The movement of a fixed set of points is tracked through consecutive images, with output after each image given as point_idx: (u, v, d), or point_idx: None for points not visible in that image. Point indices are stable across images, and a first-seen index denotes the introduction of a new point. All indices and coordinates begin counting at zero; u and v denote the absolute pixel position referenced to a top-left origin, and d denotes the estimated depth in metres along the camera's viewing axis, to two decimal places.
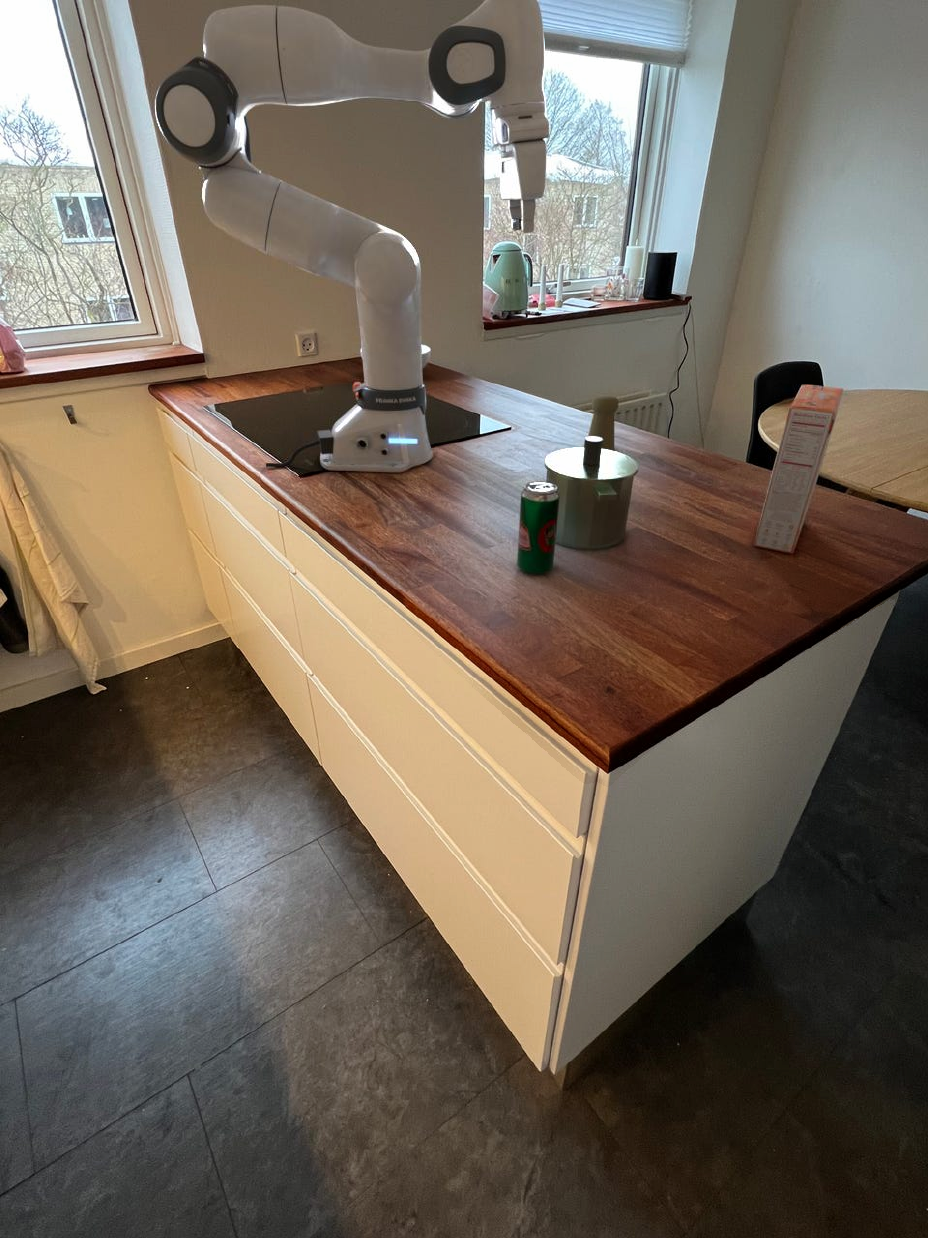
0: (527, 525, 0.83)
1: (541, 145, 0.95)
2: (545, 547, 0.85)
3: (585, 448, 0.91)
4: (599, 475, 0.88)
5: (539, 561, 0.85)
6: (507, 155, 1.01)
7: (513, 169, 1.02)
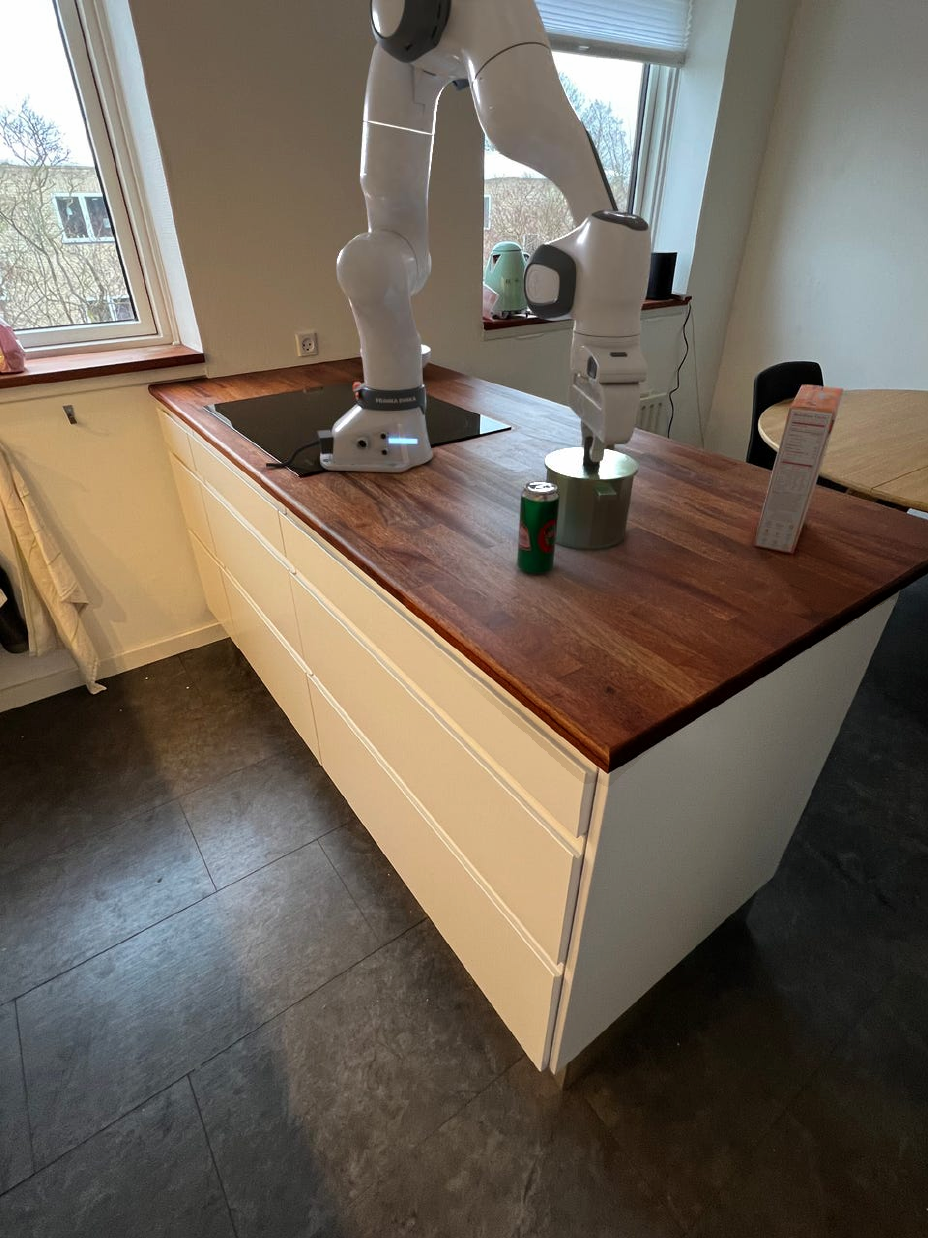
0: (527, 525, 0.83)
1: (635, 391, 0.79)
2: (545, 547, 0.85)
3: (585, 448, 0.91)
4: (599, 475, 0.88)
5: (539, 561, 0.85)
6: (588, 383, 0.84)
7: (593, 398, 0.85)
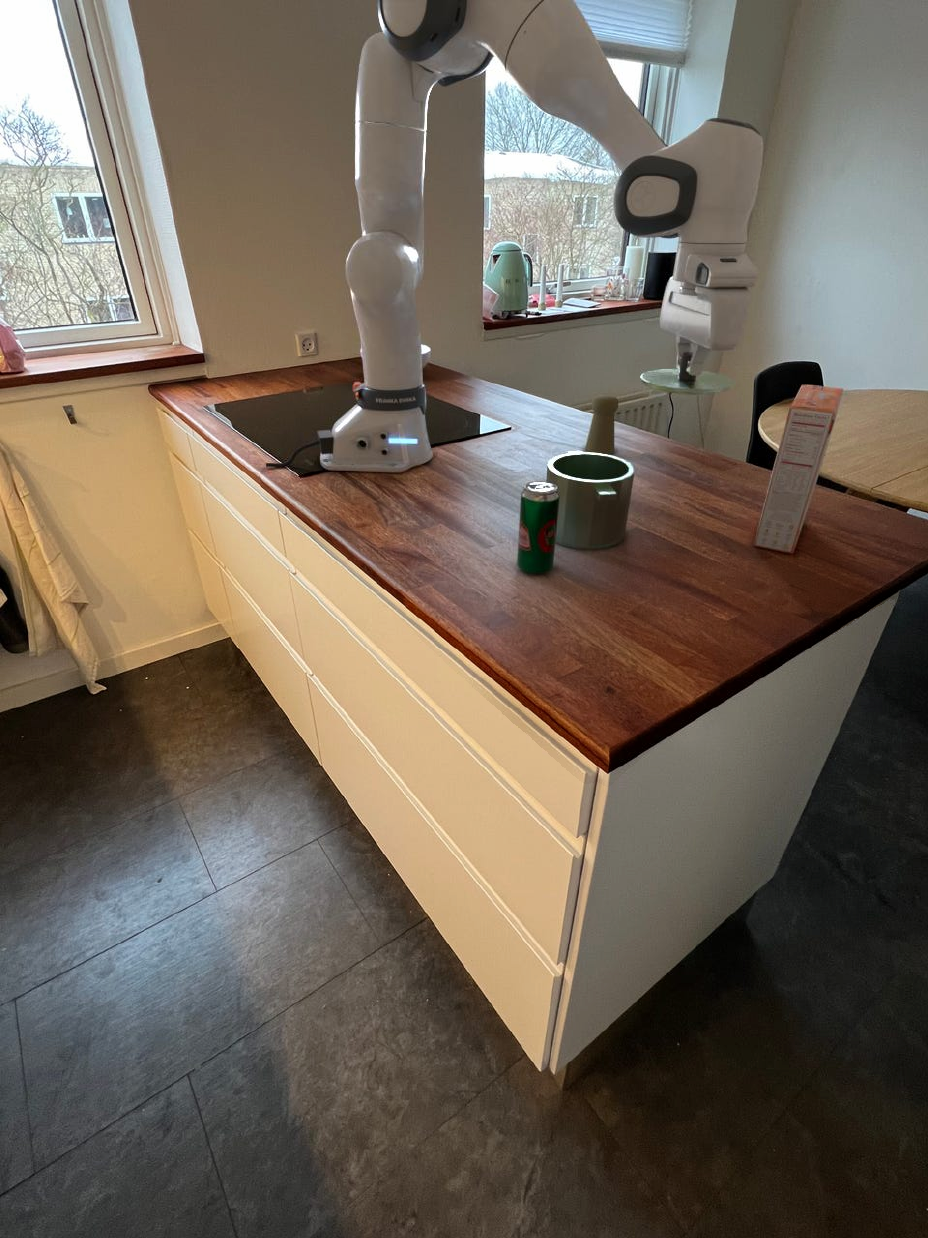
0: (527, 525, 0.83)
1: (745, 295, 0.82)
2: (545, 547, 0.85)
3: (682, 363, 0.94)
4: (699, 386, 0.91)
5: (539, 561, 0.85)
6: (692, 294, 0.87)
7: (696, 309, 0.88)
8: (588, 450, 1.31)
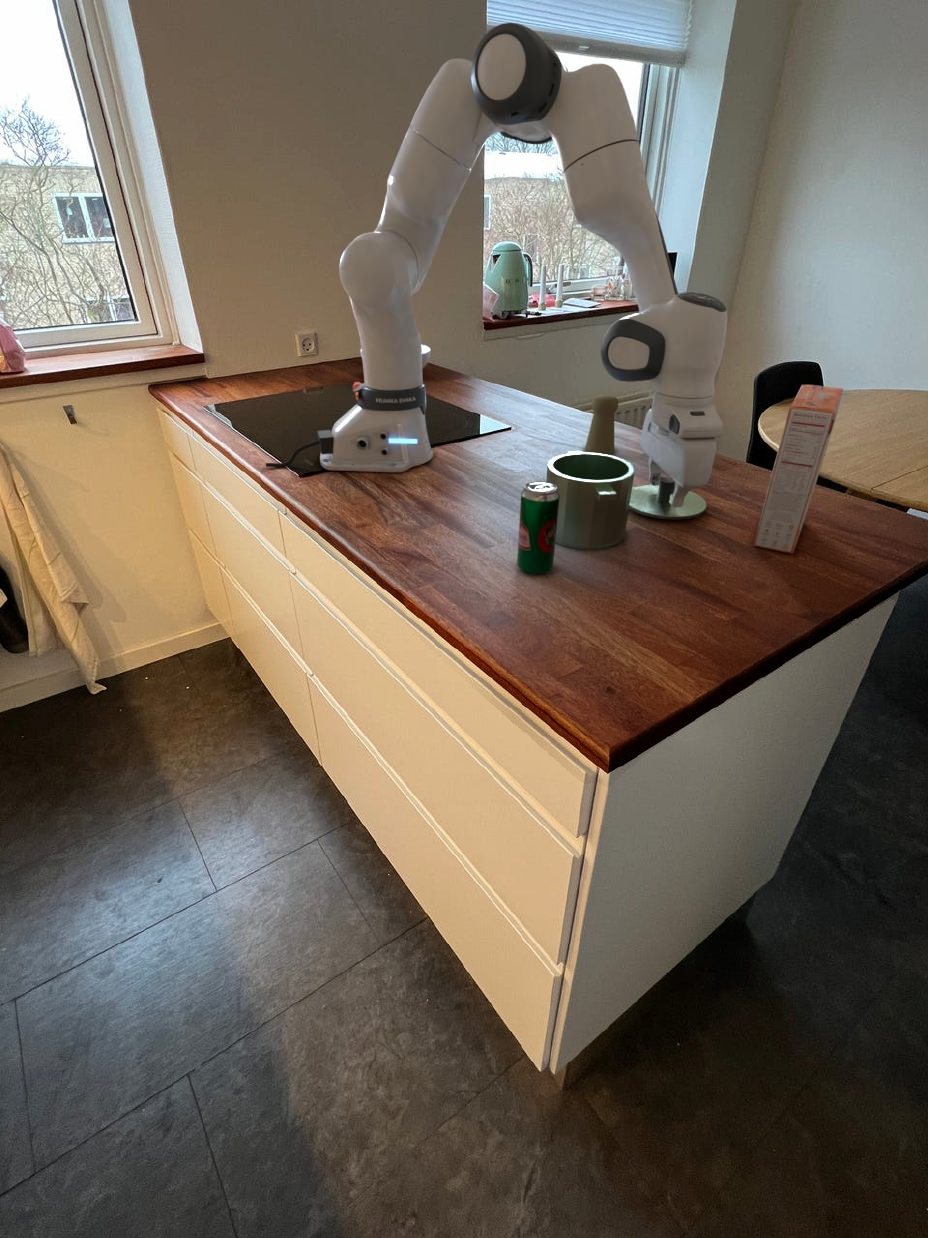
0: (527, 525, 0.83)
1: (712, 445, 0.92)
2: (545, 547, 0.85)
3: (660, 488, 1.05)
4: (674, 512, 1.02)
5: (539, 561, 0.85)
6: (667, 435, 0.98)
7: (670, 447, 0.99)
8: (588, 450, 1.31)
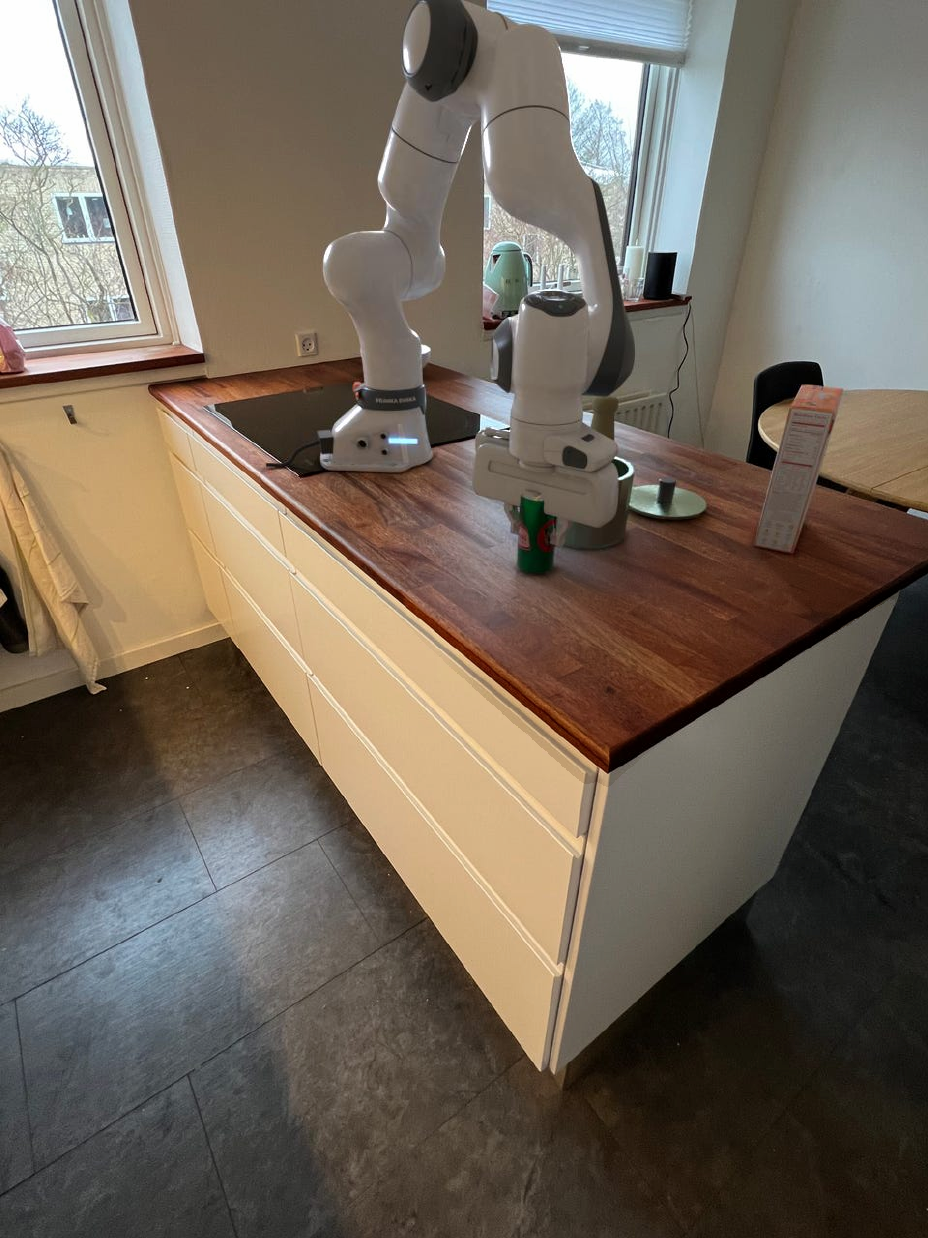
0: (527, 525, 0.83)
1: (614, 469, 0.77)
2: (544, 547, 0.85)
3: (660, 488, 1.05)
4: (674, 512, 1.02)
5: (539, 560, 0.85)
6: (548, 471, 0.78)
7: (552, 485, 0.79)
8: None
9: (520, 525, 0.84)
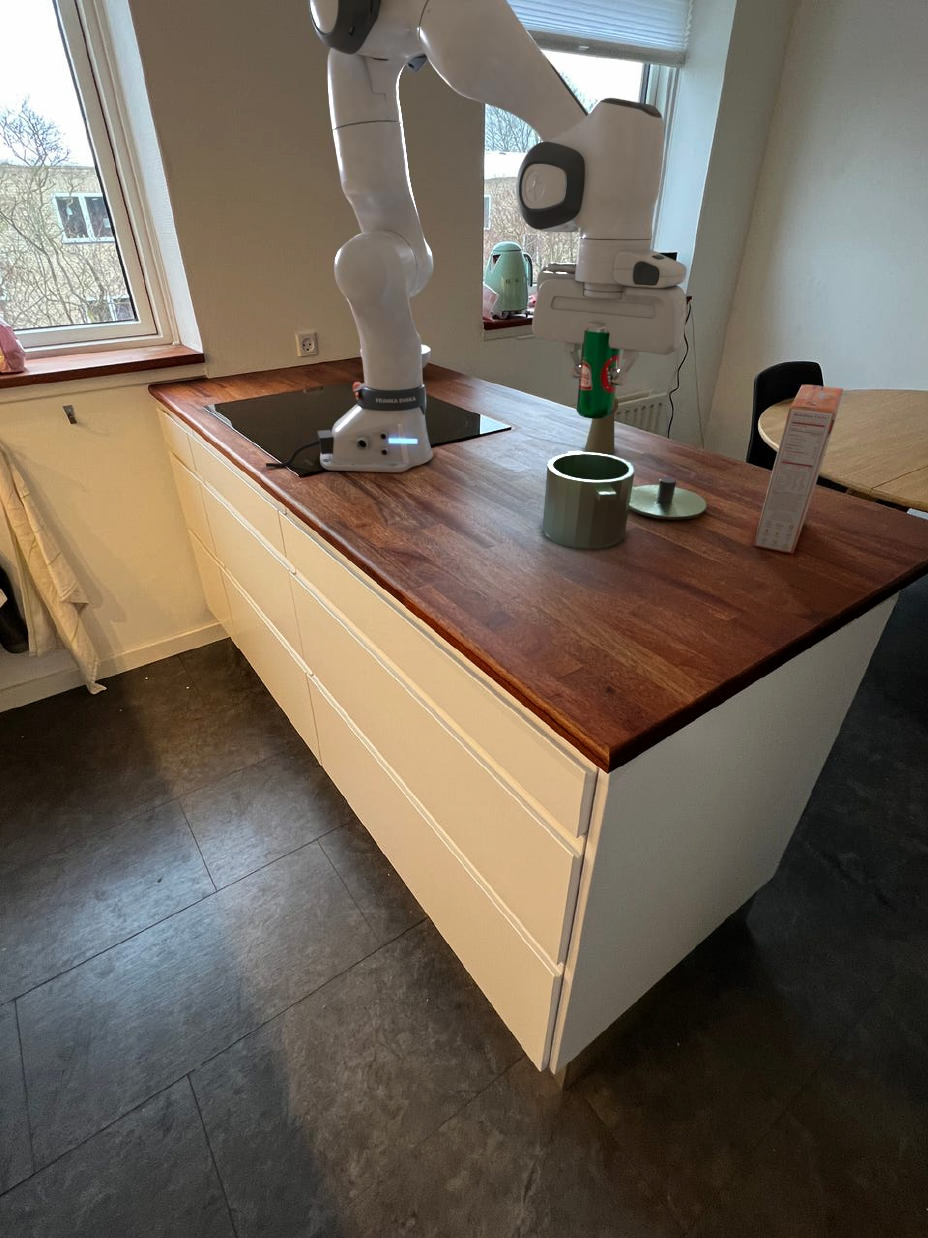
0: (590, 361, 0.83)
1: (683, 292, 0.77)
2: (607, 386, 0.84)
3: (660, 488, 1.05)
4: (674, 512, 1.02)
5: (600, 401, 0.85)
6: (616, 296, 0.78)
7: (618, 313, 0.79)
8: (588, 450, 1.31)
9: (582, 364, 0.84)
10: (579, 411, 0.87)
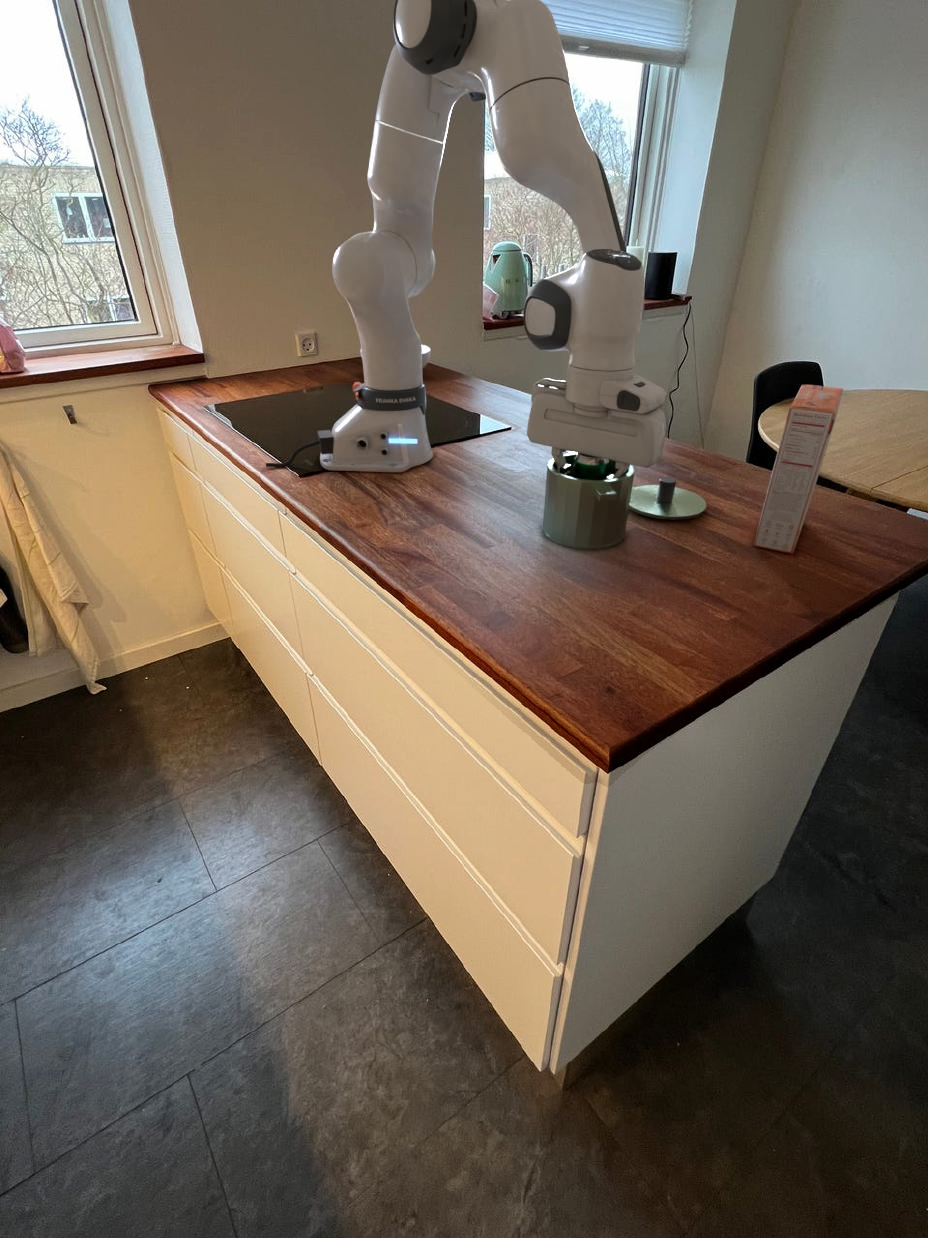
0: None
1: (662, 414, 0.85)
2: None
3: (660, 488, 1.05)
4: (674, 512, 1.02)
5: None
6: (602, 416, 0.86)
7: (604, 429, 0.88)
8: None
9: None
10: None
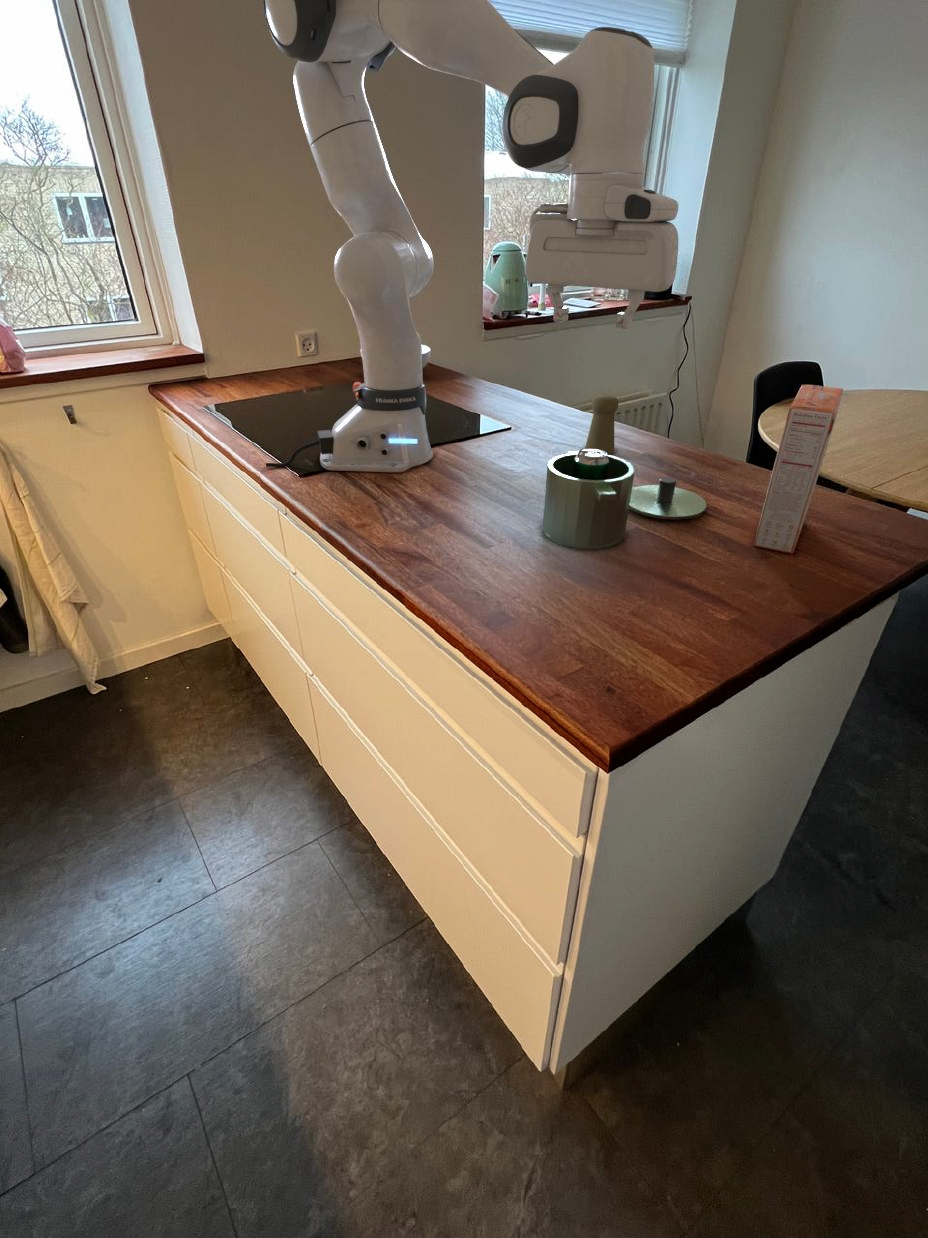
0: None
1: (674, 228, 0.77)
2: None
3: (660, 488, 1.05)
4: (674, 512, 1.02)
5: None
6: (608, 233, 0.78)
7: (610, 251, 0.79)
8: None
9: None
10: None
